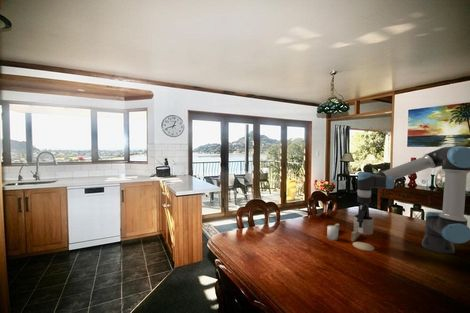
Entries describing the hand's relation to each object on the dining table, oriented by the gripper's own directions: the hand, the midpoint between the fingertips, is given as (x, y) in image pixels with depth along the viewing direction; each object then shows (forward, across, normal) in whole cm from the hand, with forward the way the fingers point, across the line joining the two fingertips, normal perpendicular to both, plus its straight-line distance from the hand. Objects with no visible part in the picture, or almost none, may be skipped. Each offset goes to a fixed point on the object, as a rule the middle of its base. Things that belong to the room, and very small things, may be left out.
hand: (363, 230), depth 137 cm
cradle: (+11, -12, -15) cm, 22 cm away
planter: (+1, 0, 0) cm, 1 cm away
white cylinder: (+11, +1, -19) cm, 22 cm away
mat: (+11, 0, 0) cm, 11 cm away
